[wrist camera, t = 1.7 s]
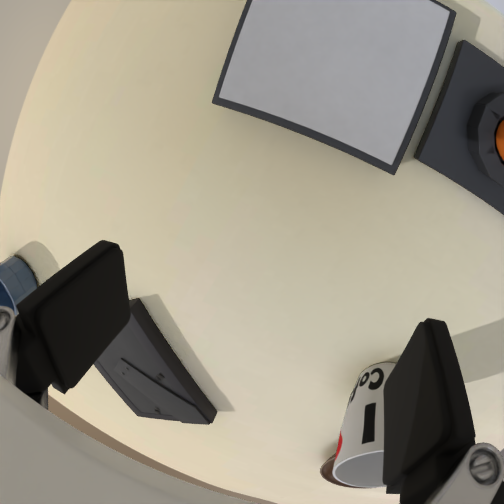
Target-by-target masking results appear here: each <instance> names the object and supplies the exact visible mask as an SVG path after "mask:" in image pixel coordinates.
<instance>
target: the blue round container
mask: <svg viewBox="0 0 504 504" xmlns="http://www.w3.org/2000/svg"><path fill="white" fill-rule="evenodd" d="M35 289H37V283H36V280H35V277H34V275H33V273H32V271H31V270H30V268H29V267H28V265H27V264H26V263H25V262H24V261H23V260H21V259H19V258H17V257H15V256H10V257H8V258H7V259H6V260H4V261H3V262H1V263H0V306H6V307H9V308H11V309H12V310H13V311H14V314H15V316H17V315H18V314H19V312H18V310H17V307H16V305H17V304H18V303H19V302H21V301H22V300H23V299H24V298H26V297H27V296H28V295H29V294H30V293H32V292H33V291H34V290H35Z"/></svg>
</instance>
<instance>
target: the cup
mask: <svg viewBox="0 0 504 504" xmlns="http://www.w3.org/2000/svg"><path fill="white" fill-rule="evenodd" d="M395 365H396V363H389V362H387V363H379V364H375V365H373V366H370V367H368V368H367V369H365V370H364V371H363V372H362V373H361V374H360V376H359V378H358V380H357V382H356V385H355V387H354V389H353V392H352V394H351V396H350V399H349V402H348V406H347V410H346V413H345V417H344V420H343V424H342V427H341V431H340V436H339V442H338V447H337V452H336V457H335V462H334V467H333V472H332V473H333V476H334V477H335V479H337V480H338V481H340V482H342V483H344V484H347V485H351V486H356V487H366V488H376V487H387V485H384V484H383V481H382V477H383V454H384V397H383V389H384V385H385V382H386V380H387V378H388V377H389V375H390V373H391V372H392V370H393V368H394V367H395Z"/></svg>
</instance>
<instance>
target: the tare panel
mask: <svg viewBox="0 0 504 504" xmlns="http://www.w3.org/2000/svg"><path fill="white" fill-rule="evenodd" d="M503 120H504V67H502V66H501V65H500V64H499V63H497V62H496V61H495V60H493V59H492V58H490V57H489V56H488V55H486V54H485V53H483V52H482V51H481V50H479V49H478V48H476V47H475V46H473V45H472V44H470V43H469V42H467V41H466V40H462V41H460V42H458V44H457V47H456V50H455V53H454V56H453V59H452V62H451V65H450V68H449V71H448V73H447V76H446V79H445V82H444V85H443V87H442V90H441V93H440V95H439V98H438V100H437V103H436V105H435V108H434V111H433V113H432V115H431V118H430V120H429V123H428V125H427V128H426V130H425V132H424V135H423V137H422V139H421V142H420V144H419V146H418V148H417V151H416V153H415V155H414V157H415V158H416V159H417V160H418V161H420V162H422V163H424V164H426V165H427V166H429V167H431V168H433V169H434V170H436V171H438V172H439V173H441V174H443V175H445V176H446V177H448V178H449V179H451V180H453V181H454V182H456V183H458V184H459V185H461V186H462V187H464V188H465V189H467V190H469V191H470V192H472V193H473V194H475V195H476V196H478V197H479V198H481V199H482V200H484V201H485V202H486V203H488V204H489V205H491V206H492V207H494V208H495V209H496V210H498V211H499V212H501V213H502V214H503V215H504V160H503V159H502V157H501V156H500V154H499V152H498V149H497V145H496V133H497V129H498V127H499V125H500V123H501V122H502V121H503Z"/></svg>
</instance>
